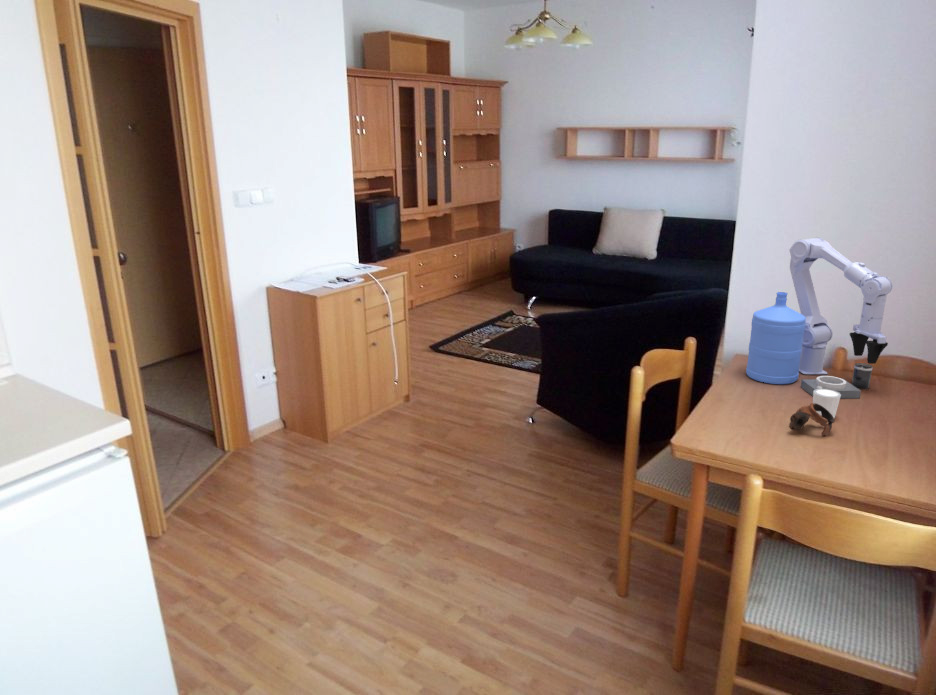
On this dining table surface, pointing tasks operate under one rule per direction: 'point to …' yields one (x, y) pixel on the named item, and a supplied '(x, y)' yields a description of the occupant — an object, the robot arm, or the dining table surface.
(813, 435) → the dining table surface
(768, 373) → the water jug
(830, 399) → the white cup
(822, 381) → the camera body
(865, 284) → the robot arm
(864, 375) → the lens
